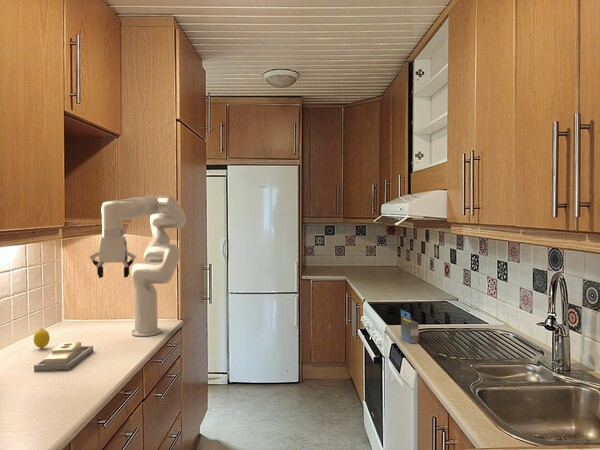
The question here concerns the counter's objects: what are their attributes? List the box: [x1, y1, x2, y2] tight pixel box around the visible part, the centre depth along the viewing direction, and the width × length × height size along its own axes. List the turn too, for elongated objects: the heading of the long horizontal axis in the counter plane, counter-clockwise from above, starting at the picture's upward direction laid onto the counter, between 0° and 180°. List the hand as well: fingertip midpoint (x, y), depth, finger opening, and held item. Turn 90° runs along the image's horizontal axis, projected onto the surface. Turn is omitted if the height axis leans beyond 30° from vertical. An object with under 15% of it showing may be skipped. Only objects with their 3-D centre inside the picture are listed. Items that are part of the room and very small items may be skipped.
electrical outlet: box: [43, 341, 82, 364], centre depth 180 cm, size 7×4×18 cm
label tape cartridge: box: [400, 309, 419, 345], centre depth 205 cm, size 9×4×12 cm, turn 15°
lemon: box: [33, 328, 51, 350], centre depth 196 cm, size 6×6×8 cm
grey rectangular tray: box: [33, 345, 94, 372], centre depth 181 cm, size 23×12×2 cm, turn 3°
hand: (113, 277), depth 195 cm, fingers open, 9 cm apart
